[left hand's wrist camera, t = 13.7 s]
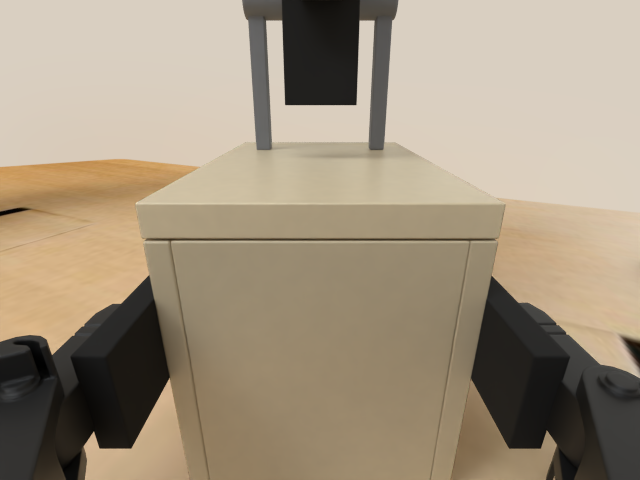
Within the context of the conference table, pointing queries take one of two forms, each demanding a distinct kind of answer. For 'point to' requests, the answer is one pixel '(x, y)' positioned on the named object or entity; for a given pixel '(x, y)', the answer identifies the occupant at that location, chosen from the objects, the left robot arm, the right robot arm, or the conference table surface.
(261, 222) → the lid
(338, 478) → the chest
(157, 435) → the conference table surface
